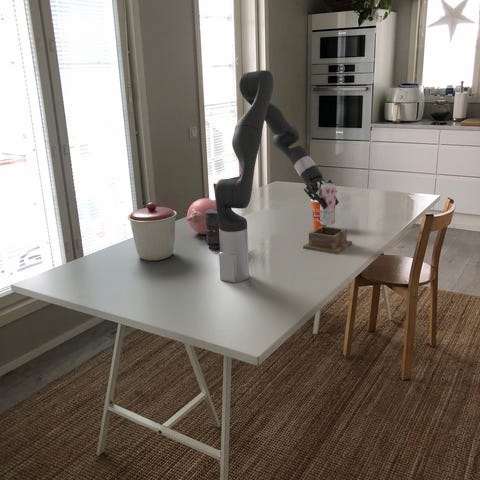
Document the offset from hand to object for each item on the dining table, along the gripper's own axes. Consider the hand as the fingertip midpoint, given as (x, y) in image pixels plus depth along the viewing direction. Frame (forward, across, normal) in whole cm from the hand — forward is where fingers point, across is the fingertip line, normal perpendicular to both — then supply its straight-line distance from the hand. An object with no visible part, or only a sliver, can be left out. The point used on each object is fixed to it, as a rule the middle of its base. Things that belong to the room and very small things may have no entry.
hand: (331, 205), depth 196 cm
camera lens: (-11, -31, +34) cm, 47 cm away
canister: (-17, -53, +41) cm, 69 cm away
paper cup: (-2, +16, +26) cm, 30 cm away
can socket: (+10, 0, +13) cm, 16 cm away
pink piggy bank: (-23, -24, +47) cm, 58 cm away
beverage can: (+4, 0, +7) cm, 8 cm away
